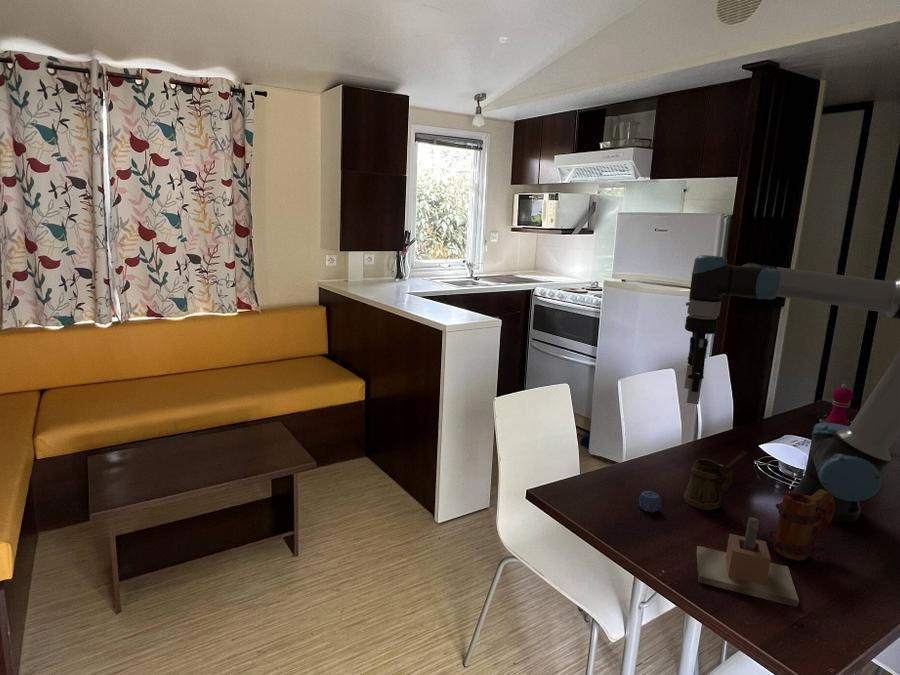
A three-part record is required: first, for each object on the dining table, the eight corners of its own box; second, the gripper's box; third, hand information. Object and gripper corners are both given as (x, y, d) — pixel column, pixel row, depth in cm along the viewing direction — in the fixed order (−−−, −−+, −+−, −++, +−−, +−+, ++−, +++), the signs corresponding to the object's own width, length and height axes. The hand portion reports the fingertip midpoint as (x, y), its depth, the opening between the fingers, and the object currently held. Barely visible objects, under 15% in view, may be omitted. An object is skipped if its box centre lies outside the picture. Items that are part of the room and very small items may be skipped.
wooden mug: (727, 521, 141) (739, 455, 138) (677, 500, 151) (686, 437, 147) (743, 511, 147) (754, 446, 143) (693, 490, 157) (702, 430, 153)
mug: (788, 567, 123) (800, 505, 120) (758, 546, 131) (769, 487, 128) (839, 559, 128) (852, 498, 124) (807, 539, 135) (819, 481, 132)
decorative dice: (637, 505, 148) (639, 491, 147) (650, 504, 149) (652, 490, 148) (646, 513, 144) (648, 499, 143) (660, 511, 145) (662, 497, 144)
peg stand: (786, 572, 122) (797, 516, 119) (797, 607, 111) (810, 545, 108) (696, 551, 128) (705, 497, 125) (698, 582, 117) (707, 523, 114)
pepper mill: (825, 431, 208) (836, 379, 204) (848, 438, 202) (860, 385, 198) (818, 435, 203) (829, 382, 199) (842, 442, 198) (853, 388, 194)
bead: (761, 566, 121) (765, 541, 119) (765, 585, 114) (770, 559, 113) (725, 558, 123) (729, 533, 122) (728, 576, 117) (732, 550, 116)
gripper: (684, 308, 157) (674, 381, 161) (689, 322, 134) (677, 407, 138) (713, 310, 154) (702, 385, 159) (723, 326, 131) (710, 412, 136)
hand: (690, 395), depth 148 cm, fingers open, 13 cm apart
